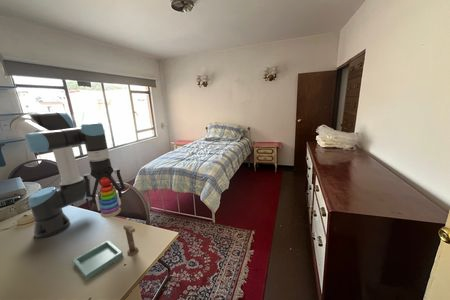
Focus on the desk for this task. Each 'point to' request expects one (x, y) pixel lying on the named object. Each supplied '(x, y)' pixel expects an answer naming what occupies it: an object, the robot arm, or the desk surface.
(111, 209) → the stacking toy
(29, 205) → the robot arm
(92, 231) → the desk surface
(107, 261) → the tray
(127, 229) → the tan tall figure
